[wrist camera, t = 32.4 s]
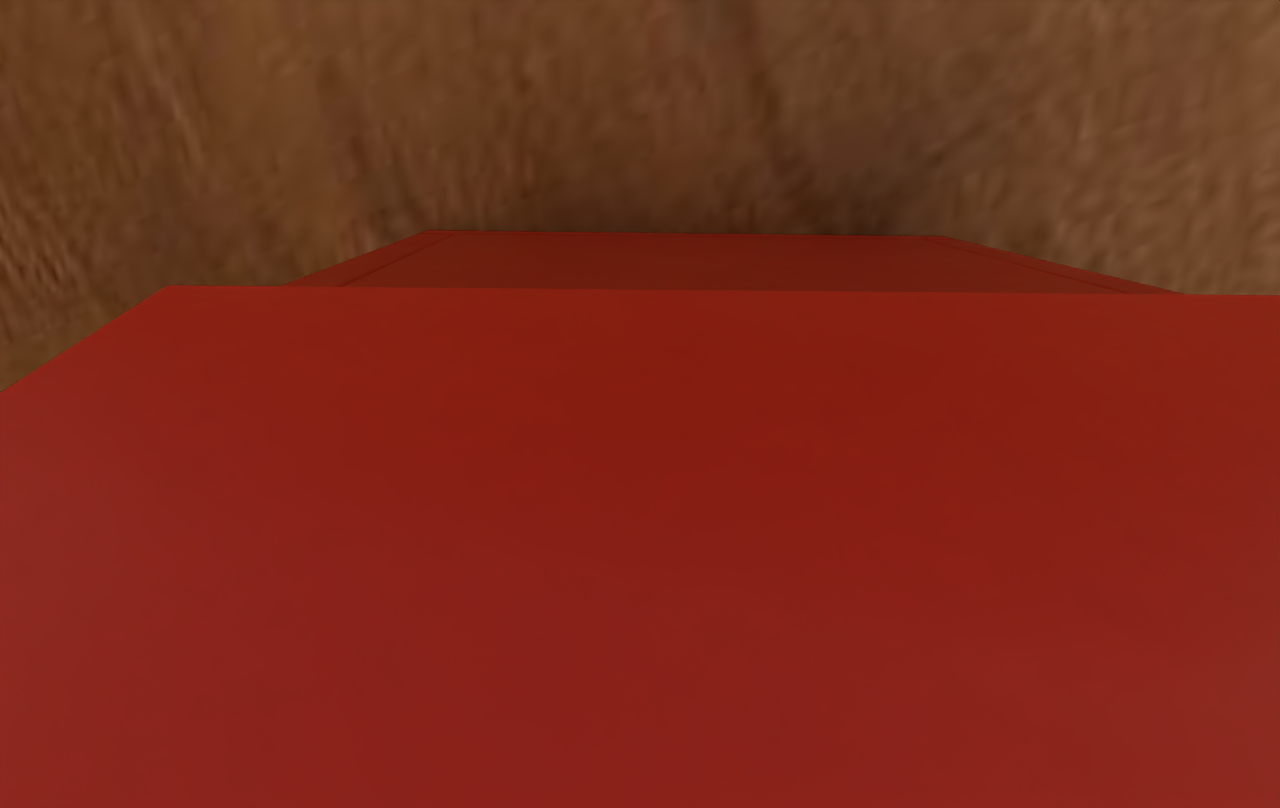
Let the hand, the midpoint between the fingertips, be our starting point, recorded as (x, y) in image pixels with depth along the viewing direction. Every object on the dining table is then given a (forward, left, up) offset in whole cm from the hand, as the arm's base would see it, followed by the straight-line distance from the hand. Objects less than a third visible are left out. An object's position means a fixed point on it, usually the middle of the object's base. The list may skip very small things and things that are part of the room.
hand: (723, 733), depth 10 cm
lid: (-3, +4, +8) cm, 9 cm away
